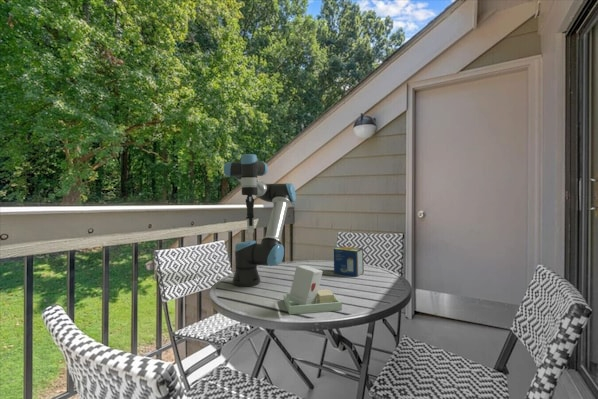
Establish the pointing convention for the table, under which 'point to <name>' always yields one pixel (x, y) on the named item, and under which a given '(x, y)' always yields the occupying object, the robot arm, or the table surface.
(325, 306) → the green tray
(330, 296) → the tan rectangular block
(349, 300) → the table surface
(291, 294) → the supplement box
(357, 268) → the protein box
